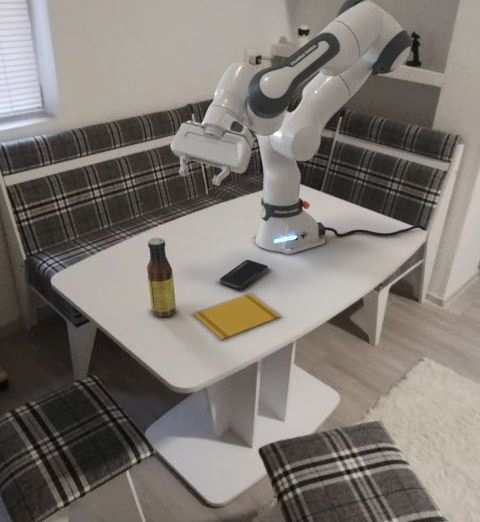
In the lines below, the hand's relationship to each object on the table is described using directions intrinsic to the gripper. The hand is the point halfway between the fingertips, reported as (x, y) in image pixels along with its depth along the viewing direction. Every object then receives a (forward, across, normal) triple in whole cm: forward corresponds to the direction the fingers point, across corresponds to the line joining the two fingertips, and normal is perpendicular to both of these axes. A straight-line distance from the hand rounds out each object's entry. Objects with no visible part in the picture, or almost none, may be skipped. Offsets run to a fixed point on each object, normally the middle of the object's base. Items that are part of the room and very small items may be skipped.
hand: (198, 179), depth 127 cm
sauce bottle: (+33, 0, +10) cm, 34 cm away
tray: (+27, +18, +15) cm, 35 cm away
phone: (+14, +10, +29) cm, 33 cm away
